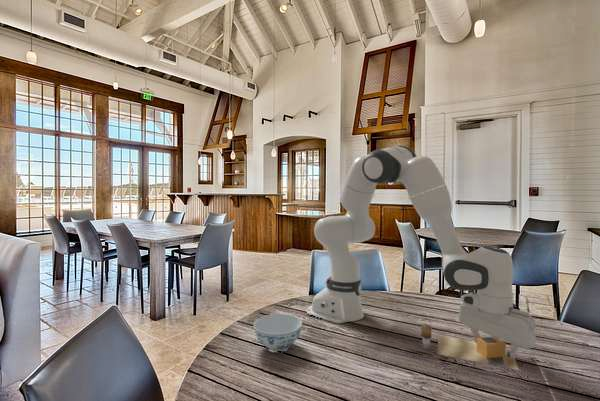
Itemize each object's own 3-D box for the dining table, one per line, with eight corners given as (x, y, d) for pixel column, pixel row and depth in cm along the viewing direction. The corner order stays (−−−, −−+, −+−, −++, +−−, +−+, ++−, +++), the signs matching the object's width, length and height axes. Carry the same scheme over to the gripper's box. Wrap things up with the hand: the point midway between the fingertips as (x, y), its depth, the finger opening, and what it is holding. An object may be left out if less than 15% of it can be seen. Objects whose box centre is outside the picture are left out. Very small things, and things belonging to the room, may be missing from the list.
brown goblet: (419, 354, 96) (419, 327, 96) (420, 348, 99) (420, 323, 99) (432, 356, 94) (432, 329, 94) (433, 351, 98) (433, 325, 97)
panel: (436, 357, 94) (436, 353, 94) (438, 338, 105) (438, 335, 105) (518, 374, 85) (518, 370, 85) (511, 351, 97) (511, 348, 97)
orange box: (486, 358, 91) (486, 343, 91) (476, 351, 95) (476, 337, 95) (505, 356, 92) (505, 342, 92) (494, 349, 96) (495, 335, 96)
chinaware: (255, 337, 108) (254, 314, 107) (299, 335, 109) (299, 313, 109) (252, 361, 93) (252, 335, 92) (304, 358, 94) (304, 332, 94)
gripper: (541, 312, 85) (540, 363, 86) (468, 291, 103) (468, 334, 104) (528, 317, 82) (527, 370, 83) (456, 294, 100) (455, 338, 101)
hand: (494, 349), depth 93 cm, fingers open, 8 cm apart
